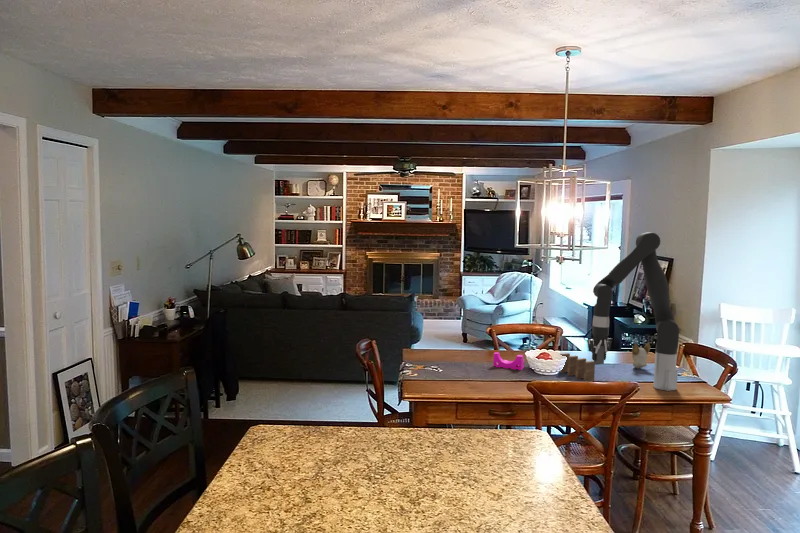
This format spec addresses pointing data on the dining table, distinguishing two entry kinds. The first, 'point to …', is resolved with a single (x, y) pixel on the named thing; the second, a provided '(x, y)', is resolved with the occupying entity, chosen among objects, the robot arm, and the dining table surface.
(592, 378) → the walnut domino
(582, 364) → the walnut domino
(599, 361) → the black domino
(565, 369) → the walnut domino
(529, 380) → the dining table surface
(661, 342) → the robot arm
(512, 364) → the toy block
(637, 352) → the ceramic sculpture
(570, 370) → the walnut domino
